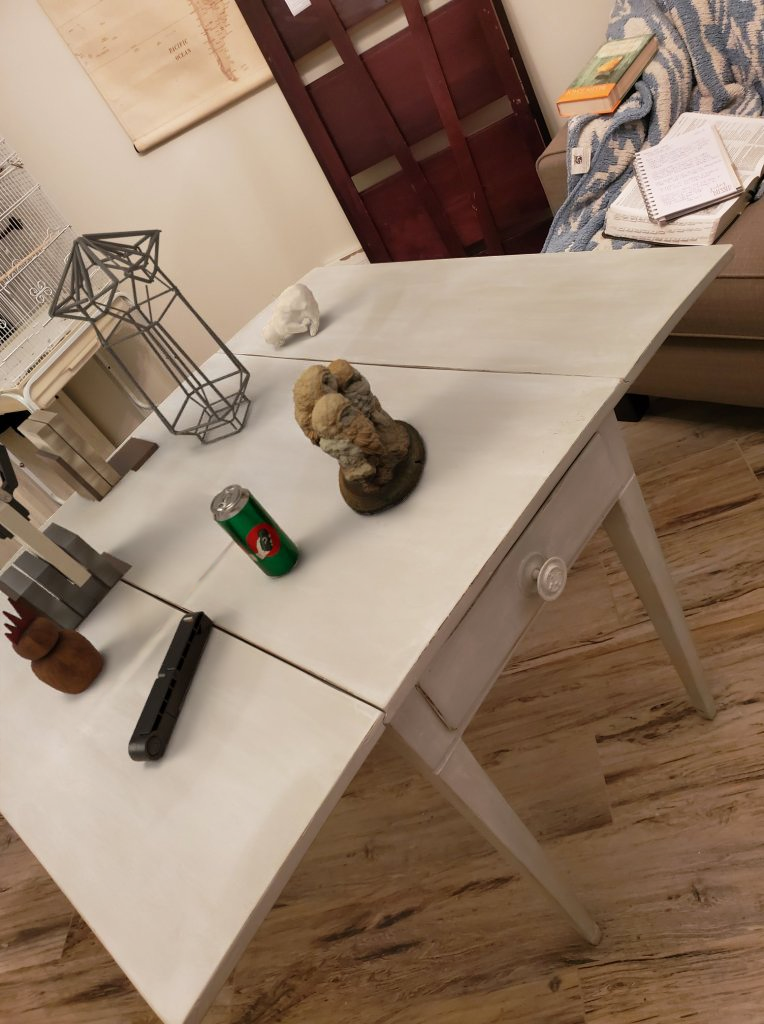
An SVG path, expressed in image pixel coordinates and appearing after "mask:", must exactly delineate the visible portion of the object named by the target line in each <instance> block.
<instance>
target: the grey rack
mask: <svg viewBox="0 0 764 1024" xmlns="http://www.w3.org/2000/svg"><path fill="white" fill-rule="evenodd" d="M42 533H43V534H44V535H45V536H46V537H48V538H49V539H50V540H51V541H52V542H53V543H55V544H56V545H57V546H58V547H59V548H60V549H62V550H63V551H64V552H65V553H66V554H68V555H69V556H70V557H71V558H72V559H73V560H75V561H76V562H77V563H78V564H79V565H81V566H82V567H83V568H84V569H85V570H86V571H88V572H89V573H90V574H91V576H90V578H89V579H88V580H87V581H86V582H85V583H84V584H83V585H82V586H81V587H79V586H77V585H76V584H74V583H72V582H71V581H69V580H68V579H66V578H65V577H64V576H62V575H61V574H60V573H59V572H58V571H56V570H55V569H54V568H53V567H51V566H50V565H49V564H47V563H45V562H44V561H42V560H41V559H39V558H38V557H36V556H35V555H34V554H33V553H32V552H30V551H29V550H26V549H25V550H24V551H23V552H22V553H21V554H20V555H19V556H18V557H17V558H16V559H15V560H14V561H13V562H12V565H10V566H8V568H7V569H5V571H4V572H3V573H2V574H1V575H0V592H2V593H3V594H4V595H5V596H6V597H7V598H9V597H10V598H12V599H13V600H14V601H16V602H17V603H18V604H20V605H21V606H22V607H24V608H25V609H26V610H28V611H29V612H30V613H31V614H33V615H34V616H35V617H36V618H38V617H43V618H46V619H48V620H49V621H51V622H52V623H53V624H54V625H55V626H56V628H57V630H58V631H59V630H65V629H69V630H75V631H77V629H78V628H79V627H80V626H81V625H82V624H83V623H84V621H85V620H86V619H87V618H89V616H90V615H91V613H93V612H94V610H95V609H96V608H97V606H98V605H100V603H101V602H102V601H103V600H104V599H105V598H106V597H107V595H108V594H110V592H112V590H113V589H114V587H116V585H117V584H119V582H120V581H121V580H122V578H123V577H125V575H126V574H127V573H128V572H129V571H130V570H131V568H132V567H133V565H132V564H129V563H128V562H125V561H123V560H122V559H120V558H117V557H116V556H114V555H112V554H109V553H108V552H106V551H103V552H102V553H101V554H100V553H99V552H98V551H97V550H96V549H95V548H93V546H91V545H90V544H89V543H88V542H86V541H85V540H84V538H83V537H81V536H80V535H79V534H77V533H75V532H73V531H71V530H69V529H67V528H65V527H64V526H61V525H59V524H58V523H55V522H51V523H50V524H49V525H48V526H47V527H46V528H45V529H44V530H43V531H42ZM14 566H15V567H14ZM17 568H18V569H17Z"/></svg>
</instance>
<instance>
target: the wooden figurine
mask: <svg viewBox="0 0 764 1024" xmlns="http://www.w3.org/2000/svg"><path fill="white" fill-rule="evenodd" d="M7 601H8V602H9V604H10V606H12V608H13V610H14V611H15V612H16V613H17V615H18V616H19V617H18V616H17V615H14V614H12V613H11V612H8V611H6V610H2V615H4V616H5V617H6V618H7V619H8V620H9V621H10V622H11V623H12V624H13V625H12V624H9V623H6V622H4V624H3V626H4V627H5V628H6V629H7V630H8V631H9V632H4V634H3V635H4V636H5V637H6V638H7V639H8V641H9V642H10V643H11V648H12V649H13V651H14V652H15V653H16V654H17V655H18V656H19V657H20V658H22V659H25V660H28V661H30V668H31V672H32V673H33V674H34V675H35V676H36V677H37V679H38V680H39V681H41V682H42V683H44V684H45V685H47V686H48V687H50V688H53V689H54V690H55V691H59V692H61V693H64V694H69V695H77V694H81V693H83V692H84V691H85V690H87V689H88V688H89V687H90V686H91V685H92V684H93V683H94V681H95V680H96V679H98V677H99V676H100V674H101V672H102V671H103V668H104V664H105V663H104V658H103V656H102V654H101V652H100V651H99V650H98V649H97V648H96V647H95V645H94V644H93V643H92V642H91V641H90V640H89V639H88V638H87V637H86V636H84V634H82V633H81V632H79V631H78V630H69V629H65V630H59V631H58V630H57V628H56V626H55V625H54V624H53V623H52V622H51V621H49V620H48V619H46V618H43V617H38V618H36V617H35V616H34V615H33V614H31V613H30V612H29V611H28V610H26V609H25V608H24V607H22V606H21V605H20V604H18V603H17V602H16V601H14V600H13V599H12V598H10V597H7Z"/></svg>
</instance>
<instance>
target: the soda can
mask: <svg viewBox="0 0 764 1024" xmlns="http://www.w3.org/2000/svg"><path fill="white" fill-rule="evenodd" d="M209 510H210V512H211V513H212V518H213V521H215V523H216V524H217V525H218V526H219V527H221V529H222V530H223V531H224V532H225V534H227V536H229V537H230V538H231V539H232V541H233V542H234V543H236V545H237V546H238V547H239V548H240V549H241V550H242V551H243V552H244V554H246V556H248V557H249V559H250V560H251V561H252V562H253V563H254V564H255V565H256V566H257V567H258V569H260V570H261V571H262V572H263V573H264V575H265V576H267V577H270V578H278V577H283V576H285V575H287V574H288V573H289V572H291V569H292V570H293V569H294V568H295V566H296V565H297V563H298V561H297V560H299V557H300V549H299V547H298V546H297V545H296V543H294V541H293V540H292V539H291V538H290V536H289V535H288V534H287V533H286V531H284V530H283V528H282V527H281V526H280V525H279V523H277V521H276V519H274V518H273V517H272V515H270V513H269V512H268V511H267V510H266V508H265V507H264V506H263V505H262V504H261V503H260V502H259V500H258V499H257V498H256V497H255V496H254V495H253V493H252V492H251V491H250V490H249V489H248V488H246V487H242V486H241V485H240V484H231V485H228V486H225V488H222V489H221V490H220V491H219V492H217V493H216V495H215V496H214V497H213V498H212V500H211V502H210V505H209ZM296 562H297V563H296ZM295 564H296V565H295ZM294 565H295V566H294ZM287 572H288V573H287ZM284 574H285V575H284ZM282 575H283V576H282Z"/></svg>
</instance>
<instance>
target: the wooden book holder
mask: <svg viewBox="0 0 764 1024" xmlns="http://www.w3.org/2000/svg"><path fill="white" fill-rule="evenodd" d="M16 429H17V430H18V431H19V432H20V433H21V434H22V435H23V436H24V437H26V438H27V439H28V441H30V442H31V443H32V445H34V446H35V447H36V448H37V449H38V450H37V451H36V452H35V453H34V454H35V455H36V456H37V457H38V458H39V459H40V460H41V461H42V462H43V463H44V464H46V466H47V467H49V468H50V469H51V470H52V471H53V472H54V473H55V474H56V475H57V476H58V477H59V478H61V479H62V480H63V481H64V482H65V484H67V485H68V486H69V487H71V488H72V490H74V491H75V492H76V493H77V494H78V495H79V496H80V497H81V496H82V497H81V498H84V497H85V498H84V499H86V498H87V500H89V501H91V500H92V501H91V502H95V501H97V502H99V503H101V502H102V501H103V499H104V498H105V497H106V496H108V494H109V493H110V492H111V491H112V490H113V489H114V488H115V487H116V486H117V485H118V484H119V483H120V482H121V481H122V479H123V478H125V476H126V475H127V474H128V473H129V472H130V471H132V472H138V470H139V469H140V468H141V467H142V466H143V465H144V464H145V462H146V461H148V460H149V458H150V457H152V455H153V454H155V452H156V451H157V450H158V449H159V448H160V445H159V444H158V443H157V442H154V441H150V440H146V439H141V438H137V437H133V436H131V437H130V438H128V440H127V441H126V442H125V443H124V444H123V445H122V446H121V447H120V448H118V450H117V451H116V452H115V453H114V454H113V455H112V457H110V458H109V459H108V460H107V461H106V460H105V459H104V458H103V457H102V456H101V455H100V454H99V452H97V451H96V450H95V449H94V448H93V447H92V446H91V445H90V443H88V442H87V441H86V440H85V439H84V438H83V436H81V435H80V434H79V433H78V432H77V431H76V430H75V429H74V428H73V427H72V426H71V425H70V424H69V423H68V422H67V421H66V420H65V419H64V418H63V417H62V416H61V415H60V413H58V412H52V411H48V410H43V409H39V408H37V409H36V410H34V412H32V414H30V415H29V416H28V417H27V418H26V419H25V420H24V421H23V422H22V423H21V424H20V425H18V426H17V428H16Z"/></svg>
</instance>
